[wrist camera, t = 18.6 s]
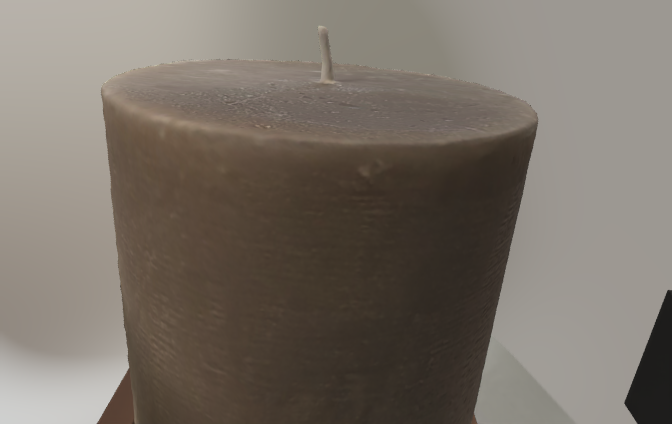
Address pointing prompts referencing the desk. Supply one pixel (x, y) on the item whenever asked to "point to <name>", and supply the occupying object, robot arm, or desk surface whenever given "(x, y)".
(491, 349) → the desk surface
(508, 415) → the desk surface
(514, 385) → the desk surface
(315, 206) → the pillar candle
